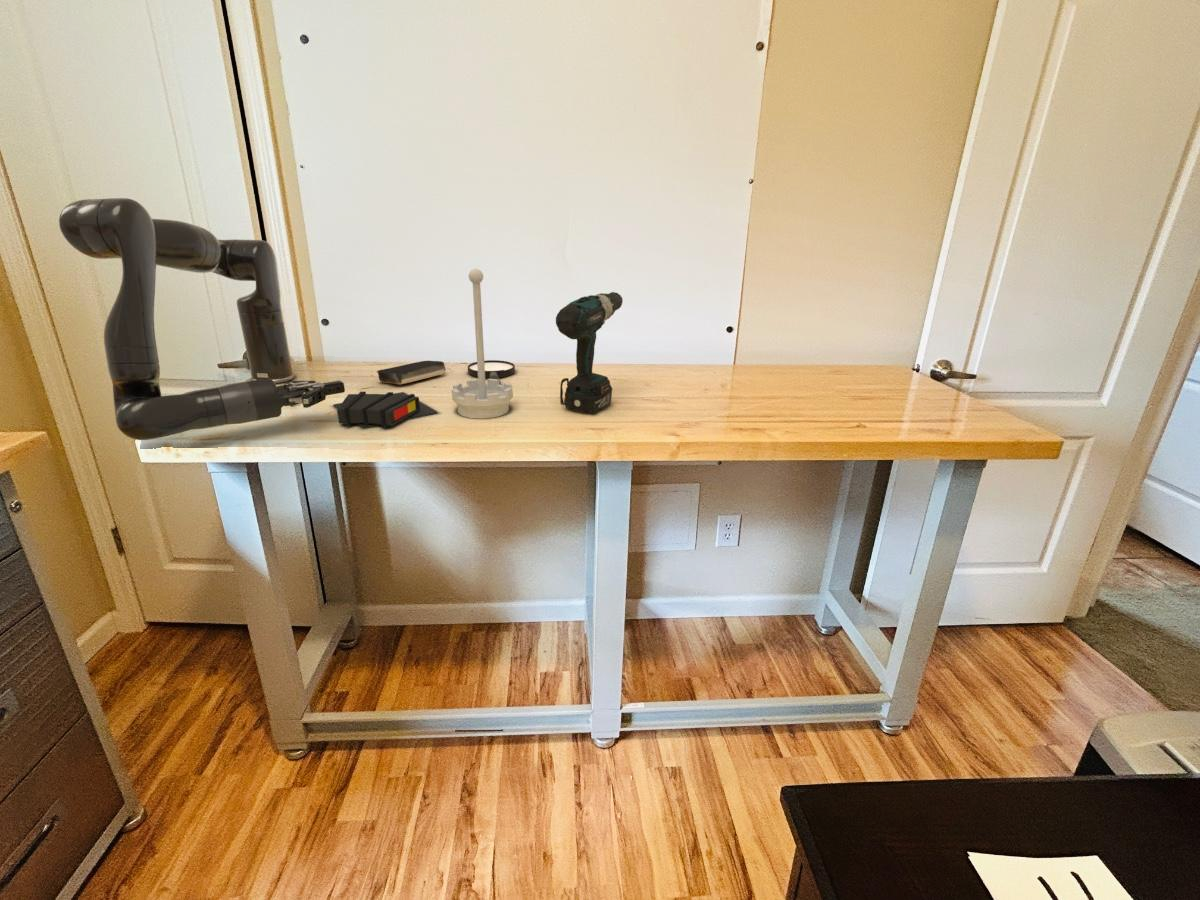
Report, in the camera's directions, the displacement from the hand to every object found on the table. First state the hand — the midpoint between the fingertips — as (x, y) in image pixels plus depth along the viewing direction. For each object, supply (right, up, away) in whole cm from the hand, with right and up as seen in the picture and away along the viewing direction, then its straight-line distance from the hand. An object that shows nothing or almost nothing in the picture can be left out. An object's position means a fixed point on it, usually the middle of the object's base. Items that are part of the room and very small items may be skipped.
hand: (342, 386), depth 124 cm
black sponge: (+5, +5, +31) cm, 32 cm away
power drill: (+51, -3, +15) cm, 53 cm away
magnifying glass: (+25, +5, +33) cm, 42 cm away
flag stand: (+27, -4, +10) cm, 29 cm away
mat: (+6, -4, +8) cm, 11 cm away
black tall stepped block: (-1, -5, 0) cm, 5 cm away
